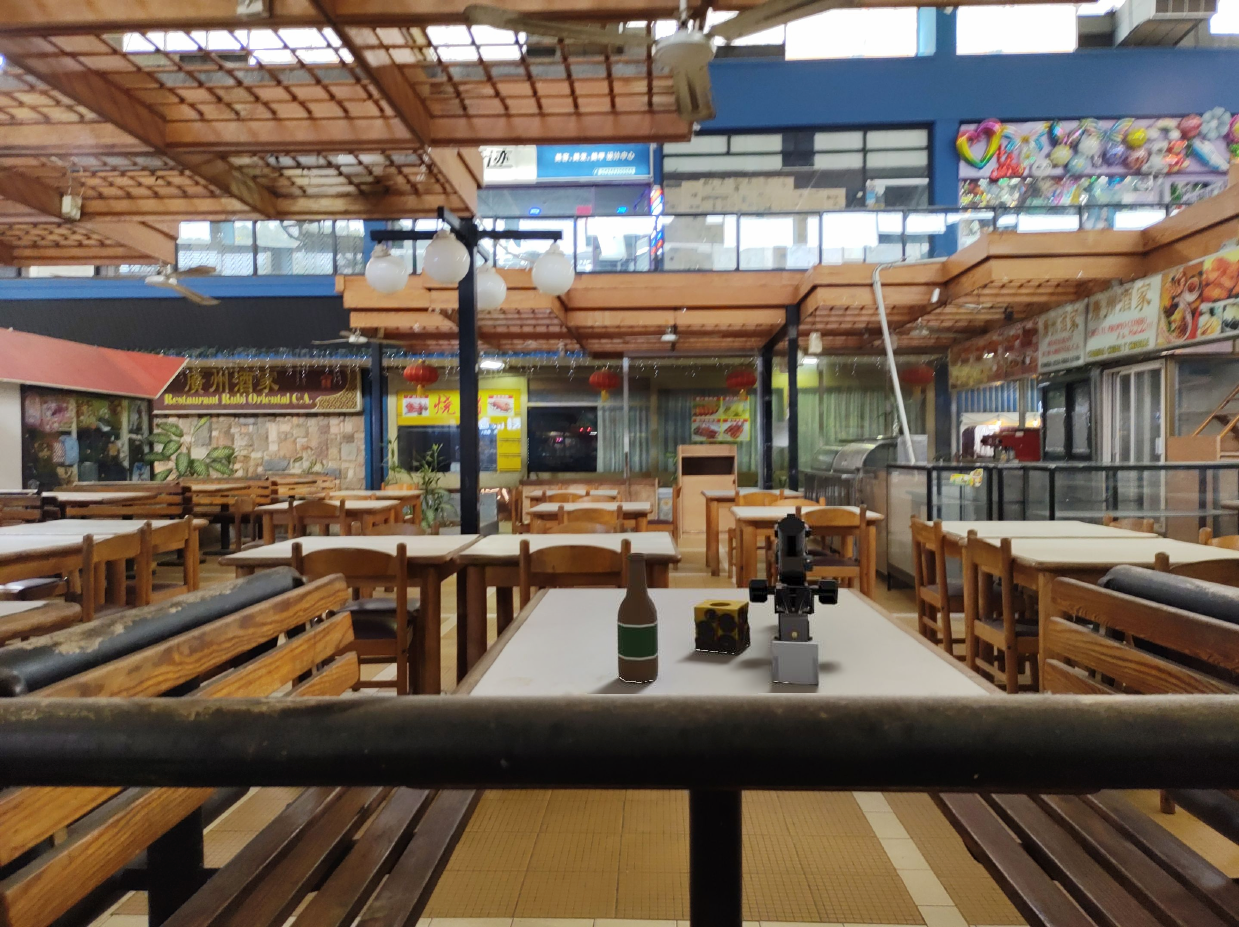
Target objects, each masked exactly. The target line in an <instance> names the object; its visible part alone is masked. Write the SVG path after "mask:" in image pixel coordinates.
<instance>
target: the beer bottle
mask: <svg viewBox="0 0 1239 927" xmlns="http://www.w3.org/2000/svg"><path fill="white" fill-rule="evenodd" d="M626 556H627V557H626V560H627V585H626V594H625V596H624V598H623V600H622V601H621V603H620V605H619V608H618V611H617V619H616V620H617V621H616V622H617V623H616V626H617V672H618V678H619V677H621V678H622V679H624V680H625V681H636V682H645V681H649V680H654V679H655V678H656V677H657V678H658V677H659V637H658V636H659V629H658V628H659V626H658V625H659V624H658V611H657V608H656V605H655V602H654V601H653V599H652V598H651V596H650V595H649V592H648V584H647V574H646V560H647V556H646V553H643V552H630V553H628V554H627V555H626ZM657 678H656V679H657ZM656 679H655V680H656ZM655 680H654V681H655Z"/></svg>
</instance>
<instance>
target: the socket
mask: <svg viewBox="0 0 1239 927" xmlns="http://www.w3.org/2000/svg"><path fill="white" fill-rule="evenodd" d="M819 675H820V674H819V643H818V642H799V641H792V640H791V642H783V641H782V640H779V641H777V640H772V679H773V680H772V682H773V681H778V682H788V683H787V684H789V683H793V685H809V684H819V685H820V680H819V679H820V676H819Z"/></svg>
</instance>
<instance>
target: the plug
mask: <svg viewBox="0 0 1239 927" xmlns="http://www.w3.org/2000/svg"><path fill="white" fill-rule="evenodd" d="M781 634H782V640H781V641H783V642H791V640H792V641H799V642H808V641H809V640H808V639H807V615H806V614H800V613H781Z"/></svg>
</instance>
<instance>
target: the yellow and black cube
mask: <svg viewBox="0 0 1239 927" xmlns="http://www.w3.org/2000/svg"><path fill="white" fill-rule="evenodd" d="M749 602H750V601H748V600H730V599H729V600H728V599H711V598H710V599H709V598H708V599H704V600H703V601H702V602H700V603H698V604H697V605H696V604H695V606H693V613H694V614H693V617H694V618H693V619H694V620H693V621H694V626H695V627H694V631H695V632H694V633H695V634H694V635H695V637H694V645H695V647H694V650H695V649H700V650H708V651H718V652H727V653H734V654H737V655H740V654H741V653H742V652H743V651H745V650H746V649H747V648H746V646H747V645H749V646H750V645H751V628H750V627H751V626H750V623H749V617H748V615H749V606H750V603H749ZM747 647H748V646H747ZM745 648H746V649H745ZM744 649H745V650H744ZM742 650H743V651H742ZM741 651H742V652H741ZM740 652H741V653H740ZM739 653H740V654H739Z"/></svg>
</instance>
